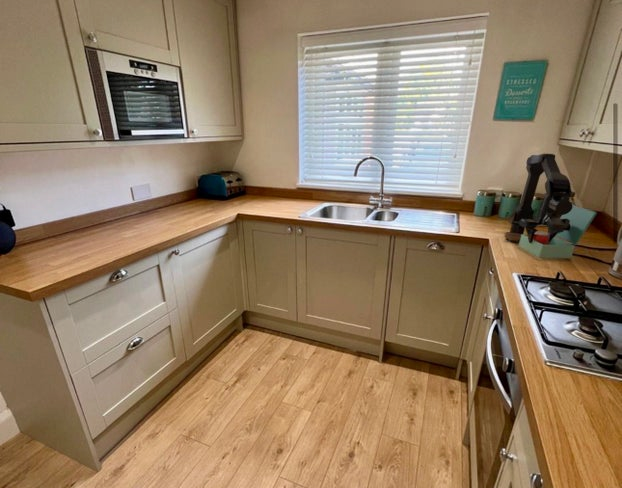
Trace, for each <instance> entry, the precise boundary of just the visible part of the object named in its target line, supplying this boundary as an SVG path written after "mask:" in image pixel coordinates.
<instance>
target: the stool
mask: <svg viewBox="0 0 622 488" xmlns="http://www.w3.org/2000/svg"><path fill="white" fill-rule="evenodd" d="M521 235H522V234H517V233H506V232H505V233H504V235H503V237H504V238H505V241H509V240H510V241H515V243H516V244H518V245H519V242H520V239H521Z"/></svg>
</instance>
